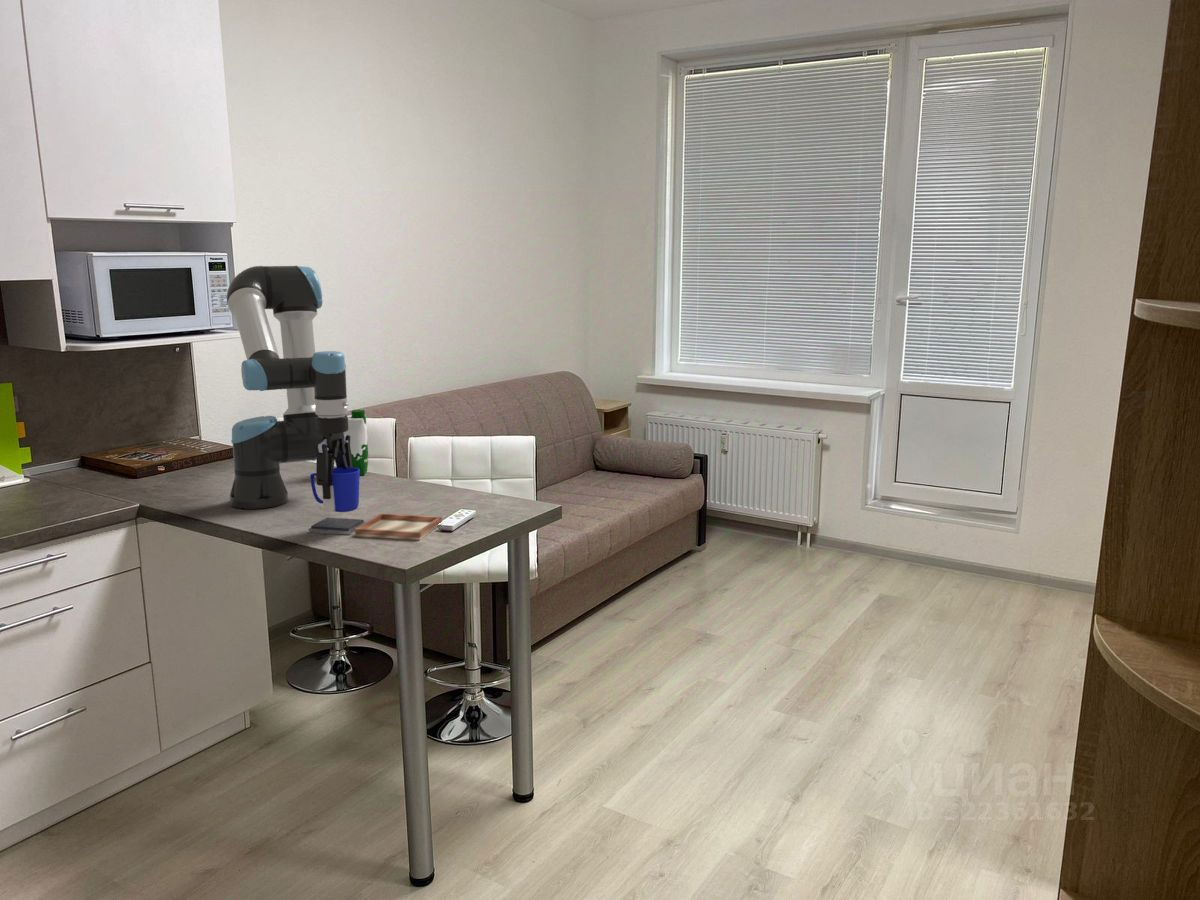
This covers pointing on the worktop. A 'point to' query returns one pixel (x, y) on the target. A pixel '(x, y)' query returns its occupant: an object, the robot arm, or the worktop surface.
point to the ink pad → (336, 526)
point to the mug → (342, 488)
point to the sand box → (398, 526)
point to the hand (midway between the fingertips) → (336, 507)
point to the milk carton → (358, 440)
